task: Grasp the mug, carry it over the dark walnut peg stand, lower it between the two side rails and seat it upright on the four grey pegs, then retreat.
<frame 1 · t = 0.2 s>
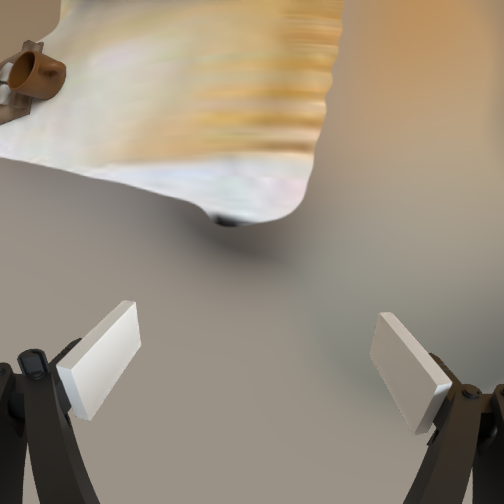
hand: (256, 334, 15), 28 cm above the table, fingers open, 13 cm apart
peg stand: (8, 89, 36), on the table
mug: (61, 80, 36), on the table
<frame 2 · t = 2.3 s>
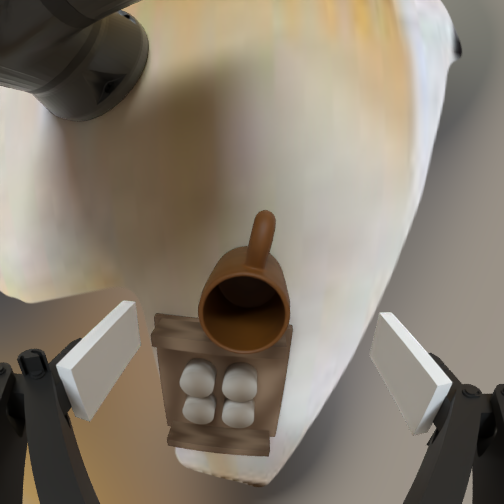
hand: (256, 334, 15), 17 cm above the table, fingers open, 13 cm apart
peg stand: (221, 383, 35), on the table
mug: (253, 258, 31), on the table
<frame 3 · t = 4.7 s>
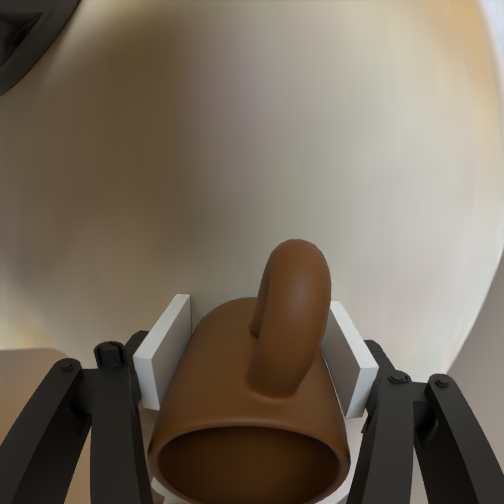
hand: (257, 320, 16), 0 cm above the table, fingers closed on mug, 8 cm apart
peg stand: (214, 474, 20), on the table
mug: (261, 317, 17), on the table, touching gripper
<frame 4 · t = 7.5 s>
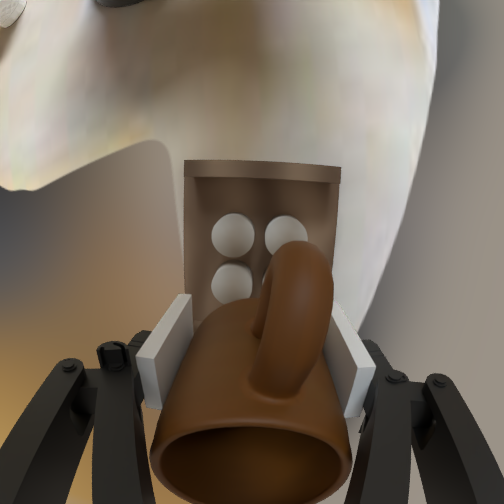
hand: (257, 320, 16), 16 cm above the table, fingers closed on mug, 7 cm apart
white cup: (14, 13, 23), on the table
peg stand: (258, 253, 32), on the table
mug: (263, 317, 17), point 16 cm above the table, touching gripper
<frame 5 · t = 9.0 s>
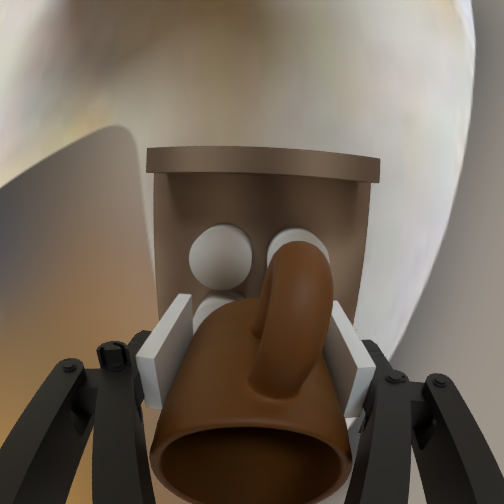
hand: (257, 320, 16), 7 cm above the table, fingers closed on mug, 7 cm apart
peg stand: (258, 279, 23), on the table
mug: (263, 317, 17), point 7 cm above the table, touching gripper
when the fingers open (6 cm above the table, at t = 10.1 s): mug drops 1 cm, resting on peg stand.
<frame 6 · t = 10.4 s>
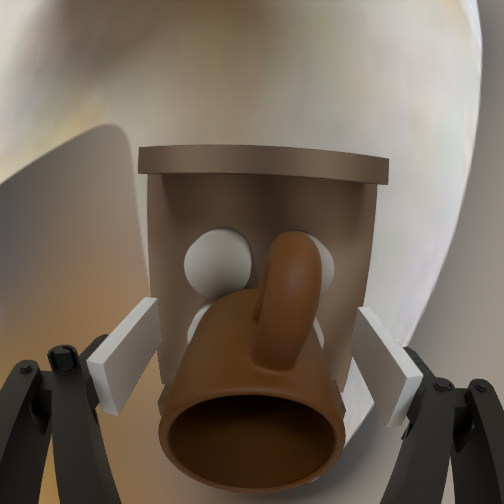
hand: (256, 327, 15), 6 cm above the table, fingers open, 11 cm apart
peg stand: (258, 286, 22), on the table
mug: (262, 307, 18), point 4 cm above the table, touching peg stand
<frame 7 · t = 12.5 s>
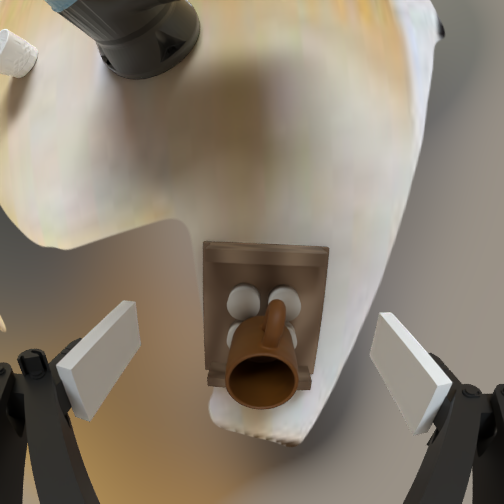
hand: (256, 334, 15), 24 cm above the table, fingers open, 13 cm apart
white cup: (26, 62, 32), on the table
peg stand: (262, 312, 39), on the table
mug: (265, 324, 36), point 4 cm above the table, touching peg stand
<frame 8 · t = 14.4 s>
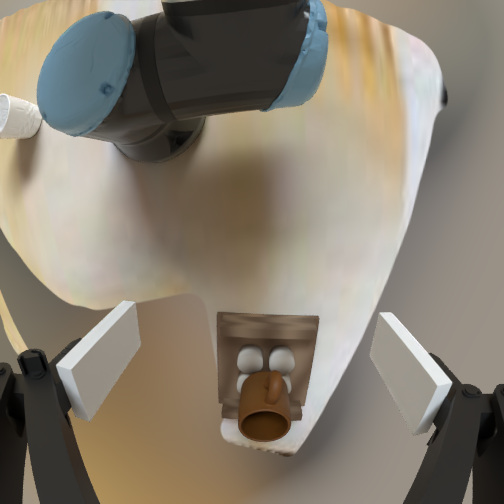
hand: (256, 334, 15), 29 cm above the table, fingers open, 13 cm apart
white cup: (31, 121, 39), on the table
peg stand: (264, 363, 48), on the table
mug: (267, 376, 44), point 4 cm above the table, touching peg stand
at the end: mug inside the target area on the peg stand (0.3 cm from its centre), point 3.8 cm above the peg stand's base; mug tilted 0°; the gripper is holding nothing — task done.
